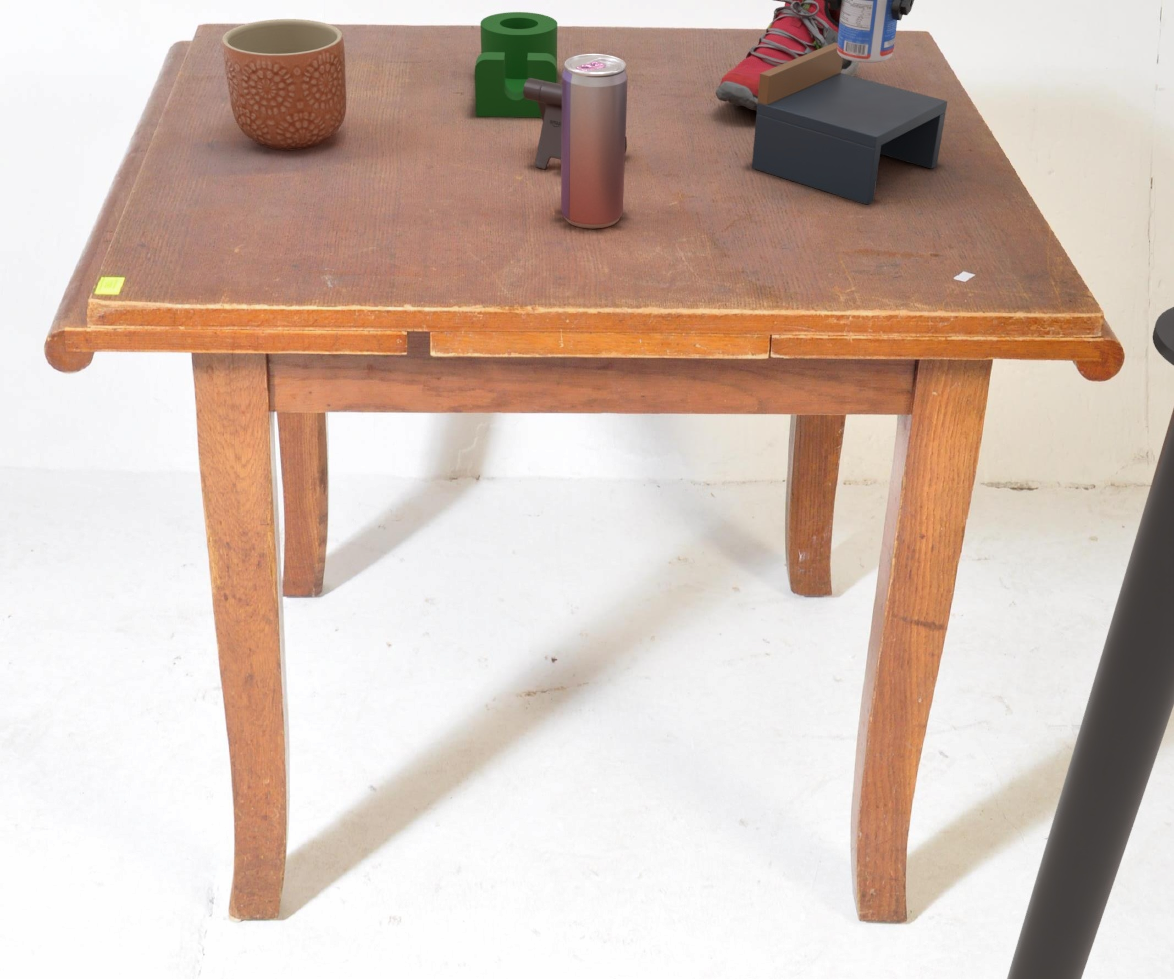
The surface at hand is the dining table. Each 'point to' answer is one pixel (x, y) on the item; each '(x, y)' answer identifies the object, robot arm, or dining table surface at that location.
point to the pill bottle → (866, 30)
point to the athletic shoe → (784, 47)
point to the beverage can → (593, 140)
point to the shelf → (839, 126)
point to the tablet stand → (548, 118)
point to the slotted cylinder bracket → (513, 62)
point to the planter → (286, 81)
